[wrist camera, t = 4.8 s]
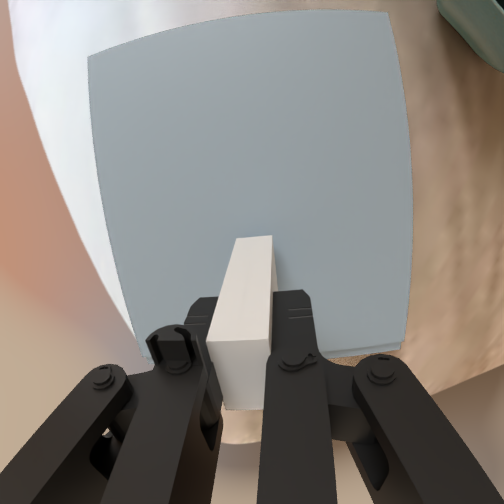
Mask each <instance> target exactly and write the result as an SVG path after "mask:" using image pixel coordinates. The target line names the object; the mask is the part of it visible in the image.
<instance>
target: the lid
mask: <svg viewBox="0 0 504 504" xmlns="http://www.w3.org/2000/svg"><path fill="white" fill-rule="evenodd" d="M88 84H89V101H90V114H91V125H92V135H93V144H94V152H95V160H96V167H97V174H98V180H99V187H100V193H101V199H102V204H103V210H104V215H105V220H106V225H107V230H108V235H109V239H110V244H111V248H112V253H113V257H114V261H115V265H116V269H117V273H118V277H119V281H120V285H121V289H122V292H123V296H124V300H125V303H126V307H127V310H128V314H129V317H130V320H131V324H132V327H133V330H134V333H135V336H136V339H137V342H138V345H139V348H140V351H141V354H142V357H146V358H147V361H148V364H154V361H153V359H152V356H151V354H150V352H149V349H148V347H147V344H146V342H145V340H146V339H147V337H148V336H149V335H150V334H151V333H152V332H154V331H155V330H157V329H159V328H162V327H164V326H167V325H174V324H180V325H184V321H185V319H186V317H187V314H188V311H189V309H190V307H191V305H192V304H193V303H194V302H195V301H197V300H198V299H199V298H200V297H217V296H219V295H220V291H221V288H222V284H223V281H224V278H225V274H226V271H227V268H228V264H229V261H230V258H231V255H232V251H233V248H234V245H235V241H236V238H246V237H257V236H268V235H272V237H273V246H274V256H275V265H276V275H277V285H278V291H288V290H300V289H303V290H304V291H305V292H306V293H307V294H308V295H309V296H310V299H311V305H312V312H313V318H314V325H315V331H316V338H317V345H318V349H319V352H320V353H321V354H322V356H323V357H324V358H326V359H330V358H340V357H348V356H356V355H364V354H372V353H379V352H385V351H392V350H398V349H400V347H401V342H402V341H404V338H405V331H406V323H407V314H408V305H409V294H410V282H411V266H412V244H413V188H412V165H411V150H410V138H409V128H408V118H407V110H406V102H405V95H404V88H403V82H402V76H401V70H400V65H399V59H398V54H397V49H396V44H395V40H394V35H393V31H392V27H391V23H390V19H389V15H388V12H377V11H362V10H293V11H279V12H267V13H258V14H249V15H242V16H235V17H228V18H222V19H217V20H211V21H206V22H201V23H196V24H192V25H187V26H183V27H179V28H175V29H171V30H167V31H163V32H159V33H156V34H152V35H149V36H145V37H142V38H139V39H136V40H133V41H130V42H126V43H124V44H121V45H118V46H115V47H112V48H109V49H107V50H104V51H101V52H99V53H96V54H94V55H91V56H89V57H88Z"/></svg>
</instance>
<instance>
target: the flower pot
mask: <svg viewBox="0 0 504 504" xmlns="http://www.w3.org/2000/svg"><path fill="white" fill-rule="evenodd" d="M437 7H438V10H439V12H440V14H441V15H442V16H443V17H444V18H445V19H446V20H447V21H448V22H449V23H450V24H451V25H452V26H453V27H454V28H455V30H456V31H457V32H458V33H459V34H460V35H461V36H462V37H463V38H464V40H465V41H466V42H467V43H468V44H469V46H470V47H471V48H472V49H473V50H474V52H475V53H476V54H477V55H478V56H480V57H481V58H482V59H483V60H484V61H485V62H486V63H488V64H489V65H490V66H492V67H493V68H495V69H497V70H498V71H500V72H502V73H504V0H437Z"/></svg>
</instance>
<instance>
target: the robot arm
mask: <svg viewBox="0 0 504 504" xmlns="http://www.w3.org/2000/svg"><path fill="white" fill-rule="evenodd" d="M145 342H146V344H147V347H148V349H149V352H150V354H151V356H152V359H153V361H154V364H155V366H154V368H153V370H152V371H148V372H144V373H139V374H133V375H128V376H127V375H126V373H125V371H124V370H123V368H121V367H119V366H118V365H114V364H106V365H102V366H99V367H97V368H94V369H93V370H91V371H90V372H89V373H88V374H87V375H86V376H85V377H84V378H83V379H82V380H81V381H80V383H78V385H77V386H76V387H75V388H74V389H73V390H72V391H71V392H70V393H69V395H68V396H67V397H66V398H65V399H64V400H63V401H62V402H61V404H60V405H59V406H58V407H57V408H56V409H55V410H54V411H53V412H52V414H51V415H50V416H49V417H48V418H47V419H46V420H45V422H44V423H43V424H42V425H41V426H40V428H38V430H37V431H36V432H35V433H34V434H33V435H32V437H31V438H30V439H29V440H28V441H27V442H26V444H25V445H24V446H23V447H22V448H21V449H20V451H19V452H18V453H17V454H16V455H15V457H14V458H13V459H12V460H11V461H10V462H9V464H8V465H7V466H6V467H5V468H4V470H3V471H2V472H1V473H0V504H210V503H211V497H212V491H213V485H214V479H215V473H216V467H217V461H218V454H219V448H220V442H221V436H222V430H223V418H222V415H221V406H222V401H223V403H224V406H225V409H226V410H263V423H262V437H261V452H260V465H259V479H258V491H257V504H337V492H336V480H335V468H334V457H333V447H332V439H335V440H340V441H346V444H347V446H348V448H349V450H350V453H351V455H352V457H353V459H354V461H355V463H356V466H357V468H358V470H359V472H360V474H361V477H362V479H363V481H364V483H365V485H366V487H367V489H368V492H369V494H370V496H371V498H372V500H373V503H374V504H504V500H503V499H502V497H501V496H500V494H499V492H498V491H497V489H496V488H495V486H494V485H493V484H492V482H491V480H490V479H489V477H488V476H487V474H486V473H485V471H484V470H483V469H482V467H481V466H480V464H479V463H478V461H477V460H476V458H475V457H474V455H473V454H472V453H471V451H470V450H469V448H468V447H467V446H466V444H465V443H464V442H463V440H462V438H461V437H460V436H459V434H458V433H457V432H456V430H455V429H454V427H453V426H452V425H451V423H450V422H449V420H448V419H447V418H446V416H445V415H444V414H443V412H442V411H441V410H440V408H439V407H438V406H437V404H436V403H435V402H434V400H433V399H432V398H431V396H430V395H429V394H428V392H427V391H426V390H425V388H424V387H423V386H422V384H421V383H420V382H419V381H418V379H417V378H416V377H415V375H414V374H413V373H412V371H411V370H410V369H409V368H408V366H407V365H406V364H405V363H404V362H403V361H401V360H400V359H399V358H396V357H394V356H391V355H385V354H377V355H371V356H368V357H366V358H364V359H362V360H361V361H360V362H359V363H358V364H357V365H356V366H355V367H352V366H344V365H339V364H335V363H333V362H331V361H328V360H327V359H326V358H324V357H323V356H322V354H321V353H320V352H319V349H318V345H317V338H316V331H315V325H314V318H313V312H312V305H311V299H310V296H309V295H308V294H307V293H306V292H305V291H304V290H303V289H300V290H288V291H278V285H277V275H276V265H275V256H274V246H273V237H272V235H268V236H257V237H246V238H236V241H235V245H234V248H233V251H232V255H231V258H230V261H229V264H228V268H227V271H226V274H225V278H224V281H223V284H222V288H221V291H220V295H219V296H217V297H200V298H199V299H198V300H197V301H195V302H194V303H193V304H192V305H191V307H190V309H189V311H188V314H187V317H186V319H185V321H184V325H180V324H174V325H167V326H164V327H162V328H159V329H157V330H155V331H154V332H152V333H151V334H150V335H149V336H148V337H147V339H146V340H145ZM107 428H108V429H109V430H110V431H109V432H108V433H107V434H106V435H102V434H103V433H104V432H105V430H106V429H107Z"/></svg>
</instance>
